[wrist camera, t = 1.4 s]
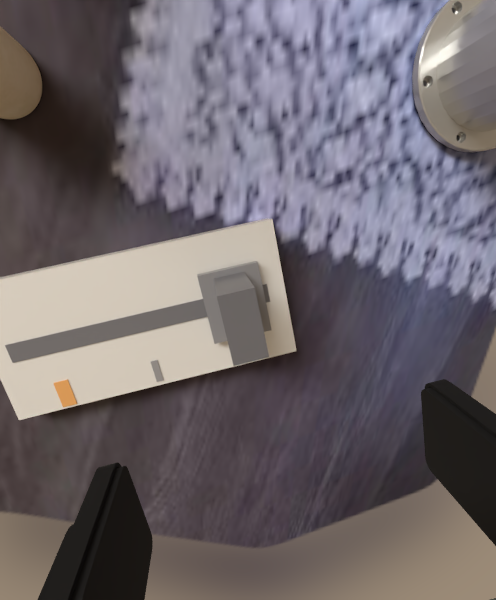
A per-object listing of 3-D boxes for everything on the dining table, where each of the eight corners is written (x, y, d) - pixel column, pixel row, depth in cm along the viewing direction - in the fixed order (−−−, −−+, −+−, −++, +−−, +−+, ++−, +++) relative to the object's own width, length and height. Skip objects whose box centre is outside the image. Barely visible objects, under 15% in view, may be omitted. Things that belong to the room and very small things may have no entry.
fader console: (266, 218, 31) (272, 219, 28) (289, 340, 34) (296, 351, 31) (-21, 282, 29) (-42, 288, 26) (32, 404, 32) (18, 420, 30)
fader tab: (256, 260, 28) (272, 275, 22) (269, 327, 30) (288, 359, 24) (197, 274, 28) (195, 293, 22) (214, 340, 30) (217, 377, 23)
